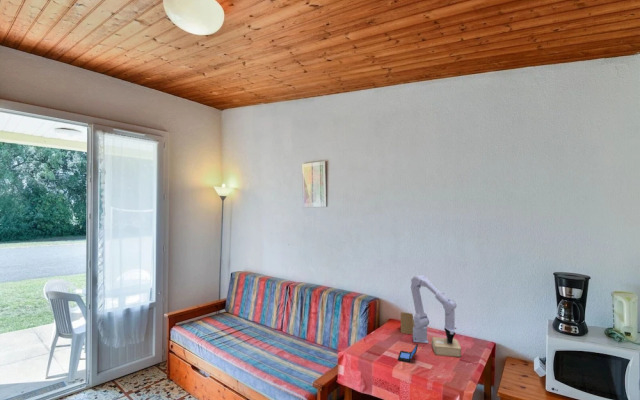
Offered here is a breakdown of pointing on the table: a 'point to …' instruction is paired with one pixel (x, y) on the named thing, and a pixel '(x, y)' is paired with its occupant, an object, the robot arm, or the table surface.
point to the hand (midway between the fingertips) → (449, 341)
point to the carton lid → (446, 343)
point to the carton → (446, 351)
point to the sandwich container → (407, 323)
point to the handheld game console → (407, 355)
